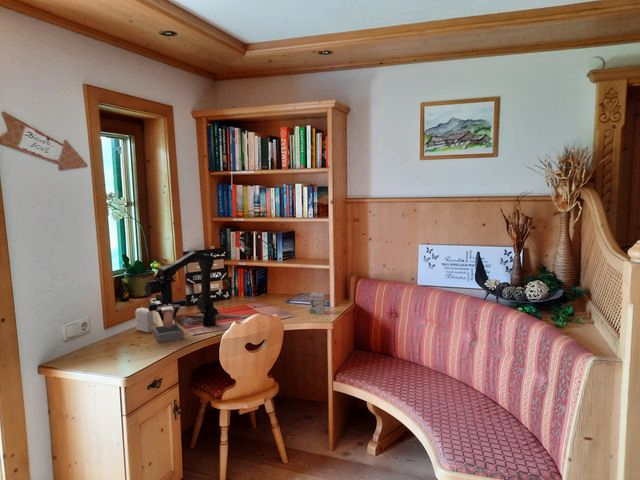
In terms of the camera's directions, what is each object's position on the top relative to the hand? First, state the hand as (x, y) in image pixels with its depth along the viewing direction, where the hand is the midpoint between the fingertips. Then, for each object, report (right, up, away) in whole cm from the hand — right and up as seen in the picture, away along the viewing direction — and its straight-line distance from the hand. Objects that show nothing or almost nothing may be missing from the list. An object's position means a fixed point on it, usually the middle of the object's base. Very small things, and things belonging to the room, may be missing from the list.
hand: (168, 321), depth 239 cm
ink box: (+77, -3, +42) cm, 87 cm away
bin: (0, -8, +1) cm, 8 cm away
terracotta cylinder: (0, -3, 0) cm, 3 cm away
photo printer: (-16, -7, +11) cm, 21 cm away
